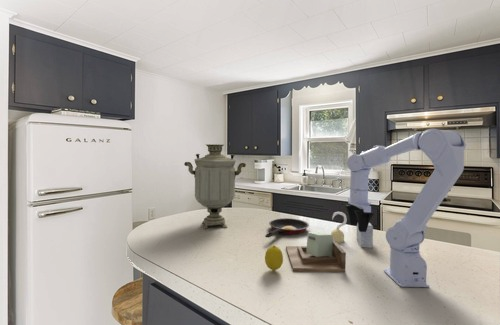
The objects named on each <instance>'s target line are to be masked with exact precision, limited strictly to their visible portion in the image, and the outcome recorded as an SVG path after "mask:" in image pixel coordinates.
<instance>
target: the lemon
mask: <svg viewBox="0 0 500 325" xmlns="http://www.w3.org/2000/svg"><path fill="white" fill-rule="evenodd" d="M264 262H265V265H266V266H267V268H268V269H270V270H271V271H273V272H276V271H277V270H279V269H280V268H281V267H282V265H283V263H284V256H283V251H282V250H281V248H279V247H278V246H277V245H272V246H270V247H269V246H268V248H267V250H266V251H265V254H264Z"/></svg>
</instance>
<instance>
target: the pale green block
mask: <svg viewBox="0 0 500 325" xmlns="http://www.w3.org/2000/svg"><path fill="white" fill-rule="evenodd" d="M306 240H307V242H306V246H307V251H306V253H308V254H310V255H313V256H316V257H323V256H332V246H333V235H331V233H327V232H321V231H316V232H315V231H314V232H313V231H309V232H307V239H306Z"/></svg>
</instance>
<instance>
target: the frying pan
mask: <svg viewBox="0 0 500 325" xmlns="http://www.w3.org/2000/svg"><path fill="white" fill-rule="evenodd" d="M268 225H269V226H270V227H271V228H272V229H273V230H272V231H269V232H267V233H266V234H265V236H264V237H265V238H271V237H273V236H275V235H276V234H277V233H279V234H283V235H298V234H299V235H300V234H302V233H303V232H305V231H306V230H307V229H308V228H309V227H310V223H309V222H308V221H305V220H304V219H300V218H299V219H298V218H292V217H291V218H290V217H288V218H287V217H283V218H274V219H271V220H269V222H268Z"/></svg>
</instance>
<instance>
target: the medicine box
mask: <svg viewBox="0 0 500 325" xmlns="http://www.w3.org/2000/svg"><path fill="white" fill-rule="evenodd" d="M356 241H357V242H358V244H359V246H360V247H361V248H369V249H372V248H373V246H374V243H373V242H374V226H373V225H372V223H370V222H369V224H368V227H367V230H366V232H360V231H359V228H358V223H357V225H356Z"/></svg>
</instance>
